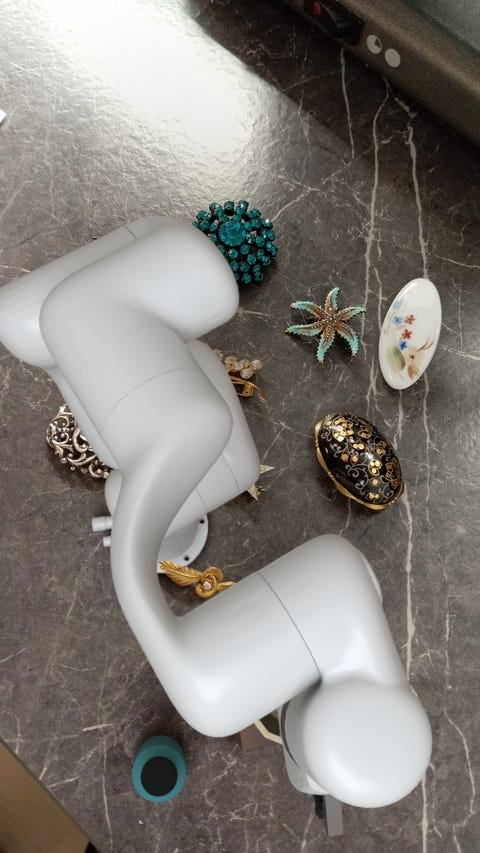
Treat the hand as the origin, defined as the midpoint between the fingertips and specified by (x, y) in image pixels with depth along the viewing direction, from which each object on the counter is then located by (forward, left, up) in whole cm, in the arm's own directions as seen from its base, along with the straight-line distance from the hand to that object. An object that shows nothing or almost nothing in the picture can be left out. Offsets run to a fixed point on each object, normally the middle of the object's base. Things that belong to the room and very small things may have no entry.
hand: (303, 712), depth 78 cm
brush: (0, 0, -21) cm, 21 cm away
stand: (0, 0, -43) cm, 43 cm away
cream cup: (0, 0, -22) cm, 22 cm away
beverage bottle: (-14, -6, -44) cm, 46 cm away
